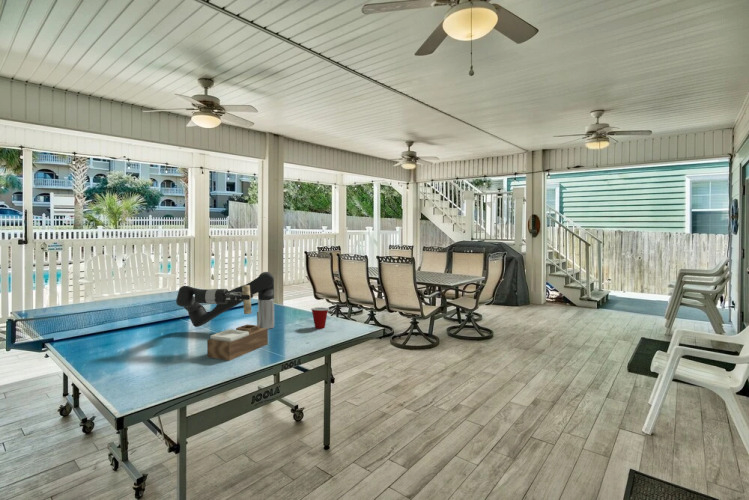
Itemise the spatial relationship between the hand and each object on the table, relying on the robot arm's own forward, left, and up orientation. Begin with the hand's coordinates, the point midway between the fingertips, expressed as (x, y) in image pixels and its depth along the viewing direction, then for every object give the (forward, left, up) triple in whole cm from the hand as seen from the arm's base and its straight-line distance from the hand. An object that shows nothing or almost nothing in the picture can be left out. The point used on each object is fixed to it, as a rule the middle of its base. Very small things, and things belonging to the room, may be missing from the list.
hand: (250, 296), depth 193 cm
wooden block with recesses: (-2, -7, -25) cm, 26 cm away
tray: (-2, -13, -17) cm, 22 cm away
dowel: (-2, 0, -9) cm, 9 cm away
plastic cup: (+12, +46, -26) cm, 54 cm away
